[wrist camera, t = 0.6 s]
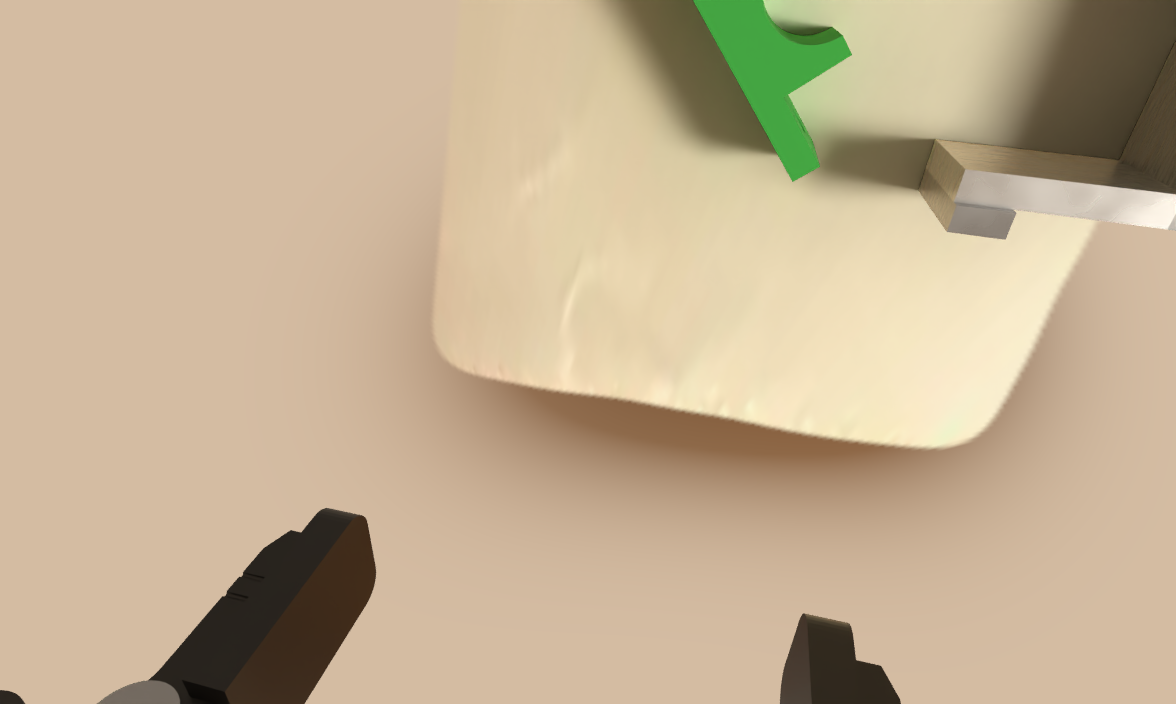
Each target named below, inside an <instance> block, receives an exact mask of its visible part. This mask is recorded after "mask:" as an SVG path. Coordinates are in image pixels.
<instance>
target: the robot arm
mask: <svg viewBox="0 0 1176 704" xmlns="http://www.w3.org/2000/svg"><path fill="white" fill-rule="evenodd" d="M370 540H371V539H370V534H369V529H368V524H367V520H366V518H365V517H364V516H362V515H357V514H352V513H348V512H343V511H339V510H334V509H329V508H325V509H322V510H321V511H319V512H318V513H317V514H316V515H315V516H314V518H313V519H312V520H311V521H310V522H309V524H308V525H307V526H306V527H305V529H304V530H303V531H302V532H301V533H300V532H296V531H292V530H291V531H289V532H287V533H286V534H284V535H283V536H281V537H280V538H279V539H277V540H275V541H274V542H272V543H271V544H269V545H268V546H267V547H265V548H264V549H263V550H262V551H261V552H260V553H259V554H258V555H257V557H256V558H255V559H254V560H253V561H252V562H251V564H250V565H249V566H248V567H247V568H246V570H245V571H244V572H243V576H242V577H239V578H238V579H237V580H236V581H235V582H234V583H233V585H232V586H231V587H230V588H229V589H228V591H227V594H226V596H225V597H222V598H221V599H220V600H219V601H218V602H217V603H216V605H215V606H214V607H213V608H212V609H211V610H210V612H209V613H208V614H207V615H206V616H205V617H204V619H203V620H202V621H201V622H200V623H199V624H198V626H197V627H196V628H195V629H194V630H193V631H192V633H191V634H190V635H189V636H188V637H187V638H186V640H185V641H184V642H183V643H182V645H180V647H179V648H178V649H177V650H176V652H175V653H174V654H173V655H172V656H171V657H170V658H169V659H168V661H167V662H166V663H165V664H164V665H163V667H162V668H161V669H160V670H159V671H158V672H157V673H156V674H155V675H154V676H153V677H151V678H150V679H149V680H148V681H141V682H137V683H133V684H130V685H128V686H125V687H123V688H121V689H119V690H117V691H115V692H113V693H111V694H110V695H108V696H107V697H105V698H104V699H103V700H101V701H100V702H99V703H97V704H305V702H306V700H307V699H308V697H309V695H310V694H311V692H312V691H313V689H314V688H315V686H316V684H317V683H318V681H319V680H320V678H321V676H322V675H323V673H324V672H325V670H326V668H327V667H328V665H329V663H330V662H331V660H332V659H333V657H334V655H335V654H336V652H337V651H338V649H339V647H340V646H341V644H342V642H343V641H344V639H345V638H346V636H347V634H348V633H349V631H350V630H351V628H352V627H353V625H354V623H355V622H356V620H357V618H358V617H359V615H360V614H361V612H362V611H363V609H364V607H365V606H366V604H367V602H368V600H369V598H370V596H371V594H372V591H373V588H374V584H375V579H376V567H375V562H374V557H373V551H372V545H371V541H370ZM0 704H25V703H24V701H23V700H22V699H21V698H20V696H18V695H17V694H15V693H13V692H10V691H4V690H0ZM780 704H901V703H900V699H899V697H898V695H897V693H896V692H895V690H894V688H893V687H892V685H891V683H890V681H889V679H888V677H887V676H886V674H885V672H884V670H883V669H882V667H881V666H879V665H875V664H870V663H866V662H861V661H857V660H856V657H855V648H854V640H853V633H852V629H851V626H850V624H848V623H845V622H841V621H836V620H832V619H827V618H822V617H818V616H813V615H809V614H802V616H801V618H800V620H799V623H798V627H797V630H796V633H795V636H794V639H793V642H792V645H791V648H790V651H789V654H788V657H787V660H786V663H785V667H784V672H783V677H782V684H781V694H780Z"/></svg>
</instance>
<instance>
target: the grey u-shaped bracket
mask: <svg viewBox="0 0 1176 704" xmlns="http://www.w3.org/2000/svg"><path fill="white" fill-rule="evenodd" d="M918 191H919V192H920V194H921V195H922V197H923V198H924V199H925V201H926V202H927V204H928V205H929V207H930V208H931V210H932V211H933V212H934V214H935V215H936V217H937V218H938V220H939V221H940V223H941V224H942V225H943V227H944V228H945V230H946V231H947V232H952V233H960V234H967V235H975V236H982V237H990V238H997V239H1006V237H1007V234H1008V232H1009V230H1010V227H1011V225H1012V222H1013V220H1014V217H1015V215H1016V212H1015V211H1014V210H1020V211H1028V212H1036V213H1043V214H1051V215H1059V216H1067V217H1075V218H1083V219H1091V220H1098V221H1106V222H1114V223H1122V224H1130V225H1138V226H1145V227H1153V228H1162V229H1169V230H1176V41H1175V43H1174V45H1173V47H1172V49H1171V52H1170V54H1169V56H1168V58H1167V60H1166V62H1165V64H1164V66H1163V68H1162V71H1161V73H1160V75H1159V77H1158V79H1157V81H1156V83H1155V85H1154V87H1153V90H1152V92H1151V94H1150V96H1149V98H1148V100H1147V102H1146V104H1145V106H1144V109H1143V111H1142V113H1141V115H1140V117H1139V119H1138V121H1137V123H1136V125H1135V128H1134V130H1133V132H1132V134H1131V136H1130V138H1129V140H1128V142H1127V145H1126V147H1125V149H1124V151H1123V153H1122V155H1121V157H1120V159H1119V160H1114V159H1106V158H1097V157H1088V156H1079V155H1070V154H1062V153H1053V152H1044V151H1035V150H1026V149H1017V148H1009V147H1000V146H991V145H982V144H973V143H964V142H956V141H947V140H938V139H935V141H934V145H933V148H932V151H931V154H930V157H929V160H928V163H927V166H926V169H925V172H924V175H923V178H922V181H921V184H920V187H919V190H918Z"/></svg>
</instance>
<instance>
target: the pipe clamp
mask: <svg viewBox="0 0 1176 704" xmlns="http://www.w3.org/2000/svg"><path fill="white" fill-rule="evenodd" d="M693 1H694V3H695V5H696V7H697V8H698V10H699V12H700V14H701V16H702V18H703V19H704V21H705V23H706V25H707V27H708V29H709V30H710V32H711V34H712V36H713V38H714V39H715V41H716V43H717V45H718V47H719V49H720V50H721V52H722V54H723V56H724V58H725V59H726V61H727V63H728V65H729V67H730V69H731V70H732V72H733V74H734V76H735V78H736V80H737V81H738V83H739V85H740V87H741V89H742V90H743V92H744V94H745V96H746V98H747V100H748V101H749V103H750V105H751V107H752V109H753V110H754V112H755V114H756V116H757V118H758V120H759V121H760V123H761V125H762V127H763V129H764V131H765V132H766V134H767V136H768V138H769V140H770V141H771V143H772V145H773V147H774V149H775V151H776V152H777V154H778V156H779V158H780V160H781V161H782V163H783V165H784V167H785V169H786V171H787V172H788V174H789V176H790V178H791V180H792V182H793V181H795V180H797V179H798V178H800V177H802V176H804V175H806V174H807V173H809V172H811V171H813V170H815V169H816V168H818V167H820V165H819V162H818V158H817V155H816V151H815V147H814V144H813V141H812V139H811V137H810V136H809V134H808V132H807V130H806V128H805V126H804V124H803V122H802V120H801V118H800V117H799V115H798V113H797V111H796V109H795V107H794V105H793V103H792V101H791V100H790V98H789V96H788V94H790V93H791V92H793V91H794V90H796V89H798V88H799V87H801V86H802V85H804V84H806V83H807V82H809V81H811V80H812V79H814V78H815V77H817V76H819V75H820V74H822V73H823V72H825V71H827V70H828V69H830V68H831V67H833V66H835V65H836V64H838V63H840V62H841V61H843V60H844V59H846V58H848V57H849V56H851V55H852V54H851V52H850V50H849V48H848V45H847V43H846V41H845V39H844V37H843V35H841V34H840V33H839V32H838V31H836V30H835V29H834V28H833V27H831V28H829V29H828V30H825V31H823V32H821V33H818V34H814V35H807V36H801V35H795V34H791V33H788V32H786V31H784V30H782V29H781V28H779V27H778V26H777V25H776V24H775V23H774V22H773V21H772V20H771V18H770V17H769V15H768V13H767V11H766V8H765V6H764V2H763V0H693Z"/></svg>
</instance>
